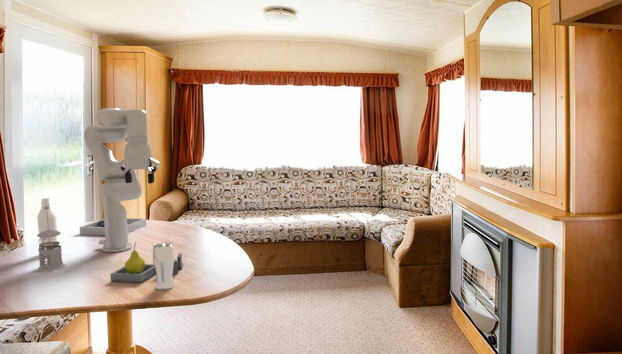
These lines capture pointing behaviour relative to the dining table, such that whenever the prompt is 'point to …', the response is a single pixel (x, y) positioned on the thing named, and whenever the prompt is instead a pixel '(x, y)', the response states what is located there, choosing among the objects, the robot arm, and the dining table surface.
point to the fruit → (135, 263)
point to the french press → (50, 251)
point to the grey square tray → (133, 275)
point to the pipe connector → (101, 223)
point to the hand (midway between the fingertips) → (139, 183)
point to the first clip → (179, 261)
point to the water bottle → (43, 221)
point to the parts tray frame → (95, 230)
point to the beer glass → (163, 265)
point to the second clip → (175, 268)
